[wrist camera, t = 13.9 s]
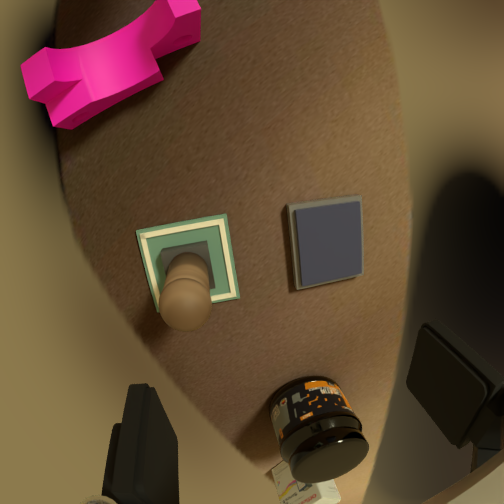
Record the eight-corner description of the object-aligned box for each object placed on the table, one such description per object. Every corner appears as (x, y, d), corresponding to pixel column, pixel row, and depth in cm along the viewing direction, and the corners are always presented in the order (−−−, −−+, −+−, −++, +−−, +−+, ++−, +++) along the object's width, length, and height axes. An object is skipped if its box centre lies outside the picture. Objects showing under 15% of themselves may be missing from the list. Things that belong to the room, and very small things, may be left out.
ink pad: (286, 204, 30) (290, 206, 29) (357, 194, 31) (363, 196, 30) (294, 286, 33) (298, 291, 31) (359, 271, 34) (365, 276, 32)
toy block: (72, 129, 24) (37, 124, 17) (55, 81, 22) (20, 65, 15) (209, 61, 25) (212, 32, 18) (187, 14, 23) (185, -22, 16)
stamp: (162, 248, 29) (144, 294, 19) (207, 240, 30) (210, 282, 20) (172, 289, 30) (161, 349, 21) (214, 282, 31) (222, 339, 21)
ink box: (290, 472, 45) (306, 521, 34) (269, 468, 44) (283, 521, 32) (322, 448, 44) (344, 499, 33) (301, 443, 42) (322, 499, 31)
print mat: (136, 230, 28) (135, 231, 28) (226, 213, 29) (226, 214, 29) (157, 311, 31) (157, 313, 31) (239, 296, 32) (240, 298, 32)
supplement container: (352, 382, 39) (389, 440, 28) (308, 428, 41) (333, 487, 30) (297, 362, 36) (330, 431, 25) (252, 414, 38) (269, 483, 27)
